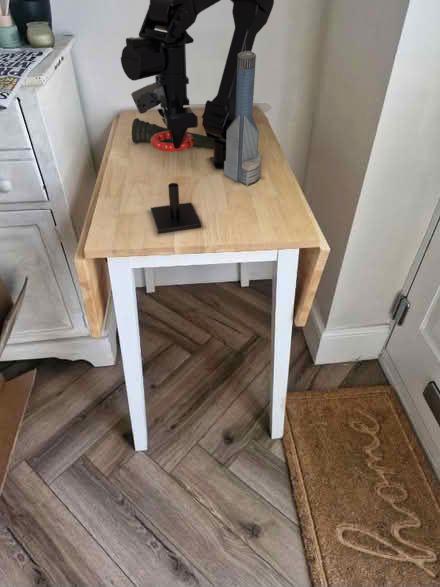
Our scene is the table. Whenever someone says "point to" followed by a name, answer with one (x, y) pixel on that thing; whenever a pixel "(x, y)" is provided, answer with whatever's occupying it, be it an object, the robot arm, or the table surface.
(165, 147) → the ring
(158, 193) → the table surface
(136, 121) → the tool
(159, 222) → the peg
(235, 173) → the building
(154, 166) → the table surface
